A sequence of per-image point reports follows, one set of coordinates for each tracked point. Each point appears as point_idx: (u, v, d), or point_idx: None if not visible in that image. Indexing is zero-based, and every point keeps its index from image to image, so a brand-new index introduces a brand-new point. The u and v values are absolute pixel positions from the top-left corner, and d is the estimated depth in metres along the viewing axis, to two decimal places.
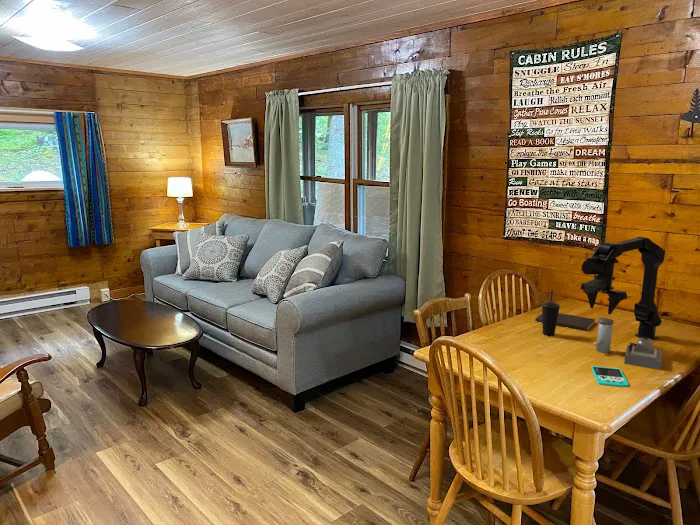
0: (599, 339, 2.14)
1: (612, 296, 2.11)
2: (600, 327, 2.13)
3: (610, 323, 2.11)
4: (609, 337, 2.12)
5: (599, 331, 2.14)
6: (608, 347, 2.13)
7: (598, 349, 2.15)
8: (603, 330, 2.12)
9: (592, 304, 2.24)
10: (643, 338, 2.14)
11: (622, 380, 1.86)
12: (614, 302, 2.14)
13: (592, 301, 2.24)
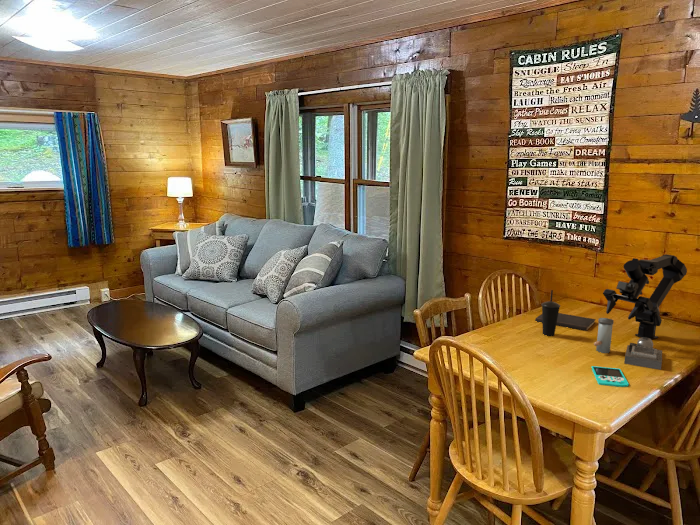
0: (599, 339, 2.14)
1: (643, 299, 2.12)
2: (600, 327, 2.13)
3: (610, 323, 2.11)
4: (609, 337, 2.12)
5: (599, 331, 2.14)
6: (608, 347, 2.13)
7: (598, 349, 2.15)
8: (603, 330, 2.12)
9: (609, 310, 2.22)
10: (643, 338, 2.14)
11: (622, 380, 1.86)
12: (637, 310, 2.14)
13: (610, 307, 2.22)
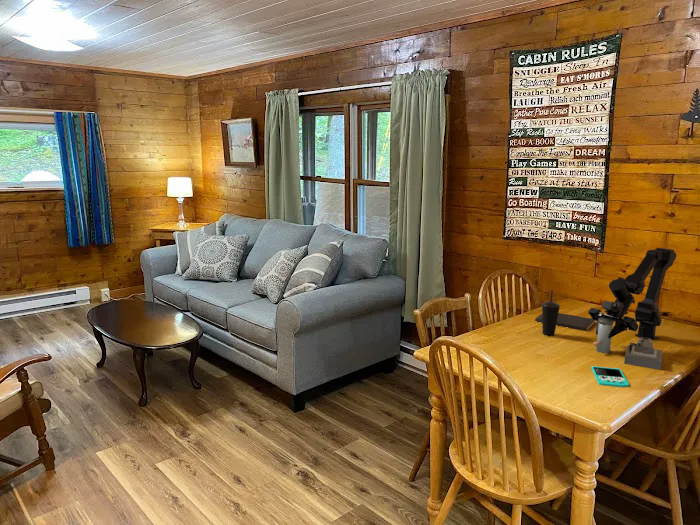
0: (599, 339, 2.14)
1: (628, 320, 2.08)
2: (600, 327, 2.13)
3: (610, 323, 2.11)
4: None
5: (599, 331, 2.14)
6: (608, 347, 2.13)
7: (598, 349, 2.15)
8: (603, 330, 2.12)
9: None
10: (643, 338, 2.14)
11: (623, 380, 1.86)
12: (618, 329, 2.12)
13: None
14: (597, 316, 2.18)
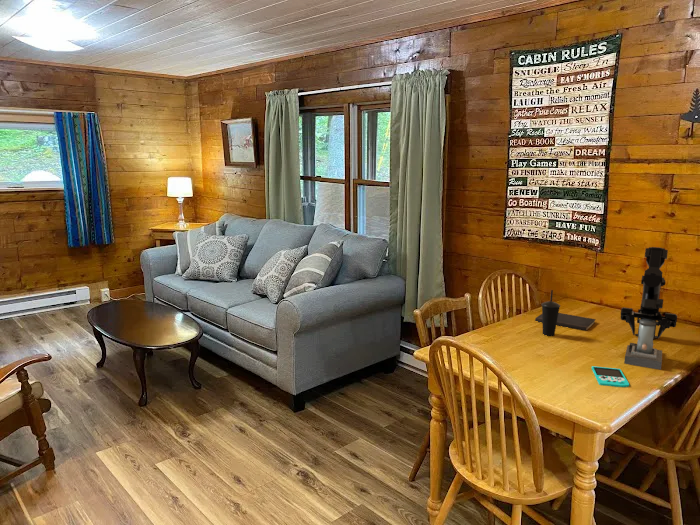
0: (643, 342, 2.02)
1: (671, 316, 1.99)
2: (644, 329, 2.01)
3: (655, 324, 2.00)
4: (652, 339, 2.02)
5: (643, 334, 2.01)
6: (651, 349, 2.02)
7: None
8: (648, 332, 2.00)
9: (634, 330, 2.04)
10: None
11: (623, 380, 1.85)
12: (662, 327, 2.02)
13: (634, 328, 2.05)
14: (630, 315, 2.06)
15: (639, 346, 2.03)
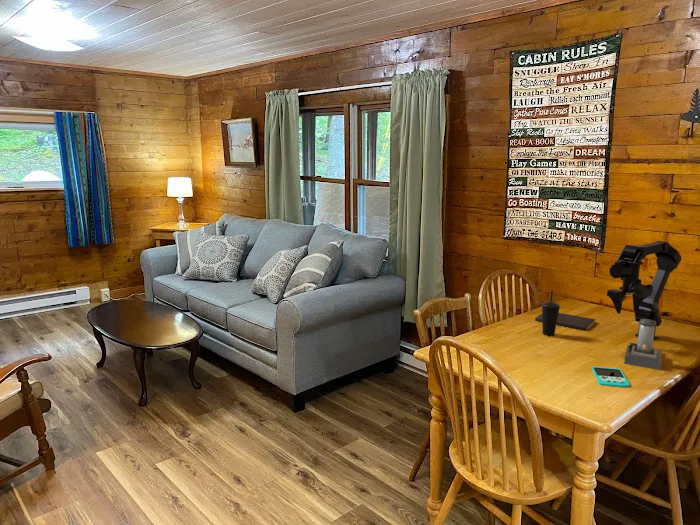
0: (643, 342, 2.01)
1: (649, 293, 2.22)
2: (645, 330, 2.00)
3: (655, 324, 2.00)
4: None
5: (643, 334, 2.01)
6: (651, 349, 2.02)
7: None
8: (648, 332, 2.00)
9: None
10: None
11: (623, 380, 1.85)
12: None
13: None
14: (622, 300, 2.18)
15: (639, 346, 2.03)
